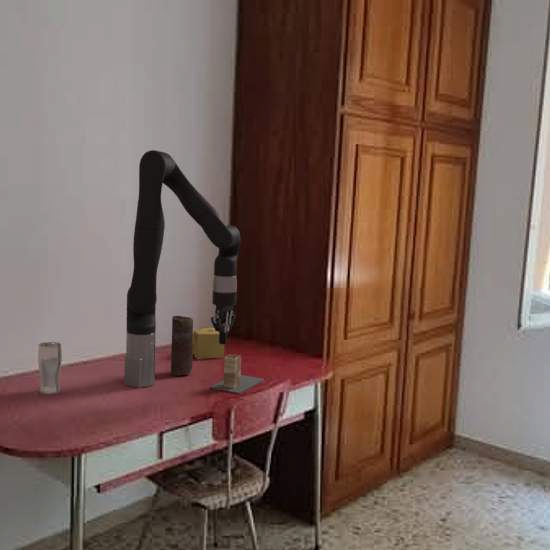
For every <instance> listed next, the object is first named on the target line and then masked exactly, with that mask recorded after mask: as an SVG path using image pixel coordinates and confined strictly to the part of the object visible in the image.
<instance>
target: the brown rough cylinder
mask: <svg viewBox="0 0 550 550" xmlns="http://www.w3.org/2000/svg"><path fill="white" fill-rule="evenodd" d="M193 333H194V319H193V318H192V317H189V316H182V315H174V316H172V322H171V351H170V353H171V354H170V357H171V359H170V374H171V376H175V377H177V376H186V375H189V374H191V373H192V372H193V354H192V351H193Z"/></svg>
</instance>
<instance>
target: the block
mask: <svg viewBox="0 0 550 550" xmlns="http://www.w3.org/2000/svg"><path fill="white" fill-rule="evenodd" d="M223 362H224V363H223V365H224V366H223V380H224V387H229V388H236V387H238V386H240V376H241V375H242V372H241V371H242V355H239V354H234V353H229V354H227V355H226V356H224V361H223Z"/></svg>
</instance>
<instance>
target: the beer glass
mask: <svg viewBox="0 0 550 550" xmlns="http://www.w3.org/2000/svg"><path fill="white" fill-rule="evenodd" d="M37 351H38V352H37V365H38V370H39V375H40V388H39V393H40V394H42V395H56V394H58V393H60V392H61V387H60V386H61V385H60V373H61V369H62V358H63V356H62V355H63V353H62V352H63V351H62V343H61V342H56V341H45V342H44V341H43V342H40V343H39V344H38V350H37Z"/></svg>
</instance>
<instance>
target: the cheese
mask: <svg viewBox="0 0 550 550" xmlns="http://www.w3.org/2000/svg"><path fill="white" fill-rule="evenodd" d="M224 352H225V344H219V332H218V331H215V329H214V327H202V328H200V329H197V330H196V329H195V330H193V351H192V353H193V354H194V355H195V356H196V357H195V356H194V355H193V354H192V355H193V356H194V357H195V359H196V358H197V359H196V360H199V359H198V358H216V359H222V358H221V357H224ZM219 357H220V358H219Z"/></svg>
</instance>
